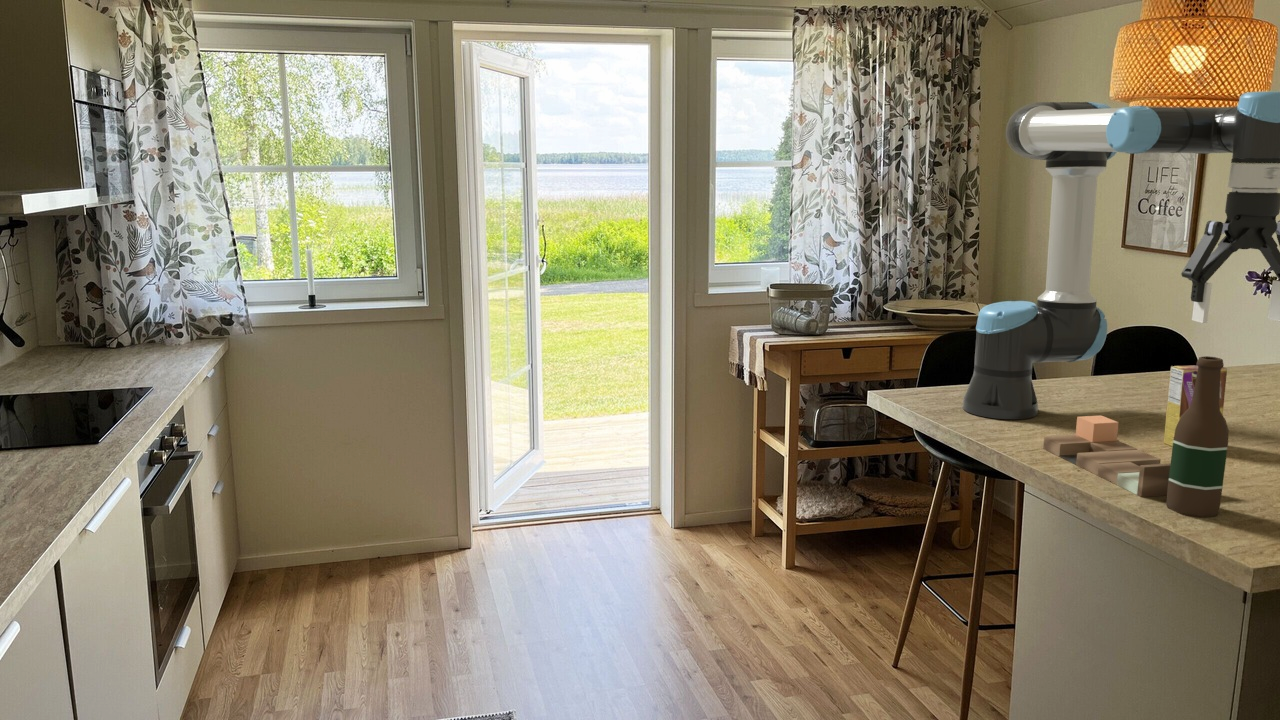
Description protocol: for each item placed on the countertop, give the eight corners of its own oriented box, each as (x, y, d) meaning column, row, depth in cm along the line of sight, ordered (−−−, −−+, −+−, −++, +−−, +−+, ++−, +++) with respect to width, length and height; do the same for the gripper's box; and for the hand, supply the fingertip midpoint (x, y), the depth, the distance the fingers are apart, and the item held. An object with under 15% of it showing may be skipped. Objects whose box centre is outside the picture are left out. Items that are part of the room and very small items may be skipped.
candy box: (1205, 441, 188) (1214, 363, 185) (1220, 447, 184) (1230, 368, 180) (1161, 442, 187) (1170, 364, 184) (1175, 449, 183) (1185, 369, 180)
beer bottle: (1174, 516, 148) (1192, 362, 143) (1156, 499, 156) (1173, 352, 151) (1229, 519, 147) (1250, 364, 142) (1209, 502, 154) (1228, 353, 150)
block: (1075, 434, 183) (1077, 416, 183) (1099, 433, 184) (1101, 415, 184) (1092, 442, 179) (1094, 423, 178) (1116, 440, 180) (1118, 422, 179)
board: (1043, 448, 183) (1045, 423, 182) (1100, 445, 185) (1103, 419, 184) (1141, 496, 157) (1144, 467, 156) (1206, 492, 159) (1210, 462, 158)
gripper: (1198, 192, 152) (1181, 326, 156) (1344, 191, 154) (1324, 323, 159) (1167, 190, 159) (1152, 318, 163) (1308, 189, 162) (1289, 316, 166)
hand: (1237, 321), depth 161 cm, fingers open, 13 cm apart
